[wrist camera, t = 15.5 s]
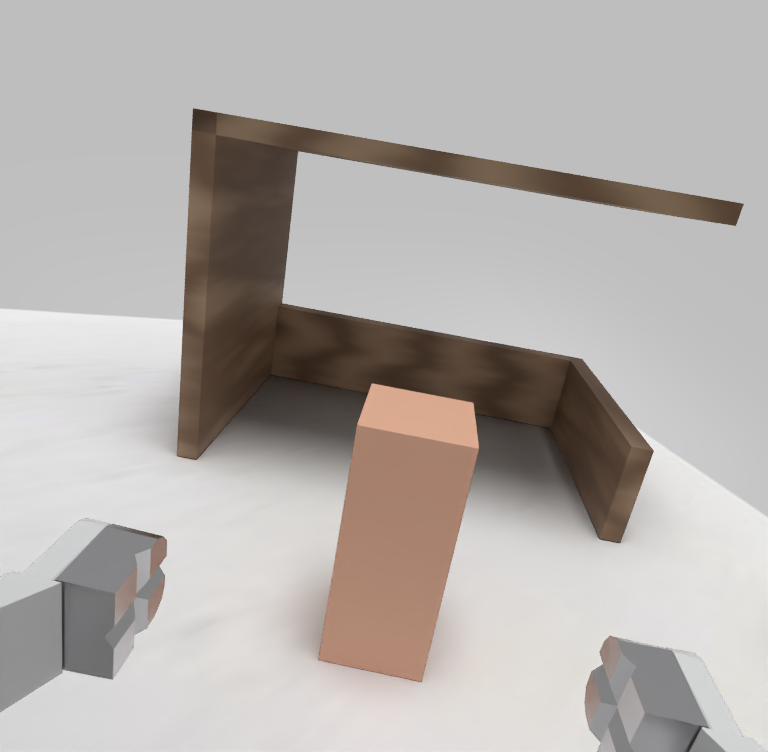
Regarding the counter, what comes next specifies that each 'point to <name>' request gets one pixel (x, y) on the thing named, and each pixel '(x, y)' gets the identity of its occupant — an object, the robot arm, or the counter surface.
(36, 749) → the counter surface
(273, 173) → the walnut box
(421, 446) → the terracotta block
